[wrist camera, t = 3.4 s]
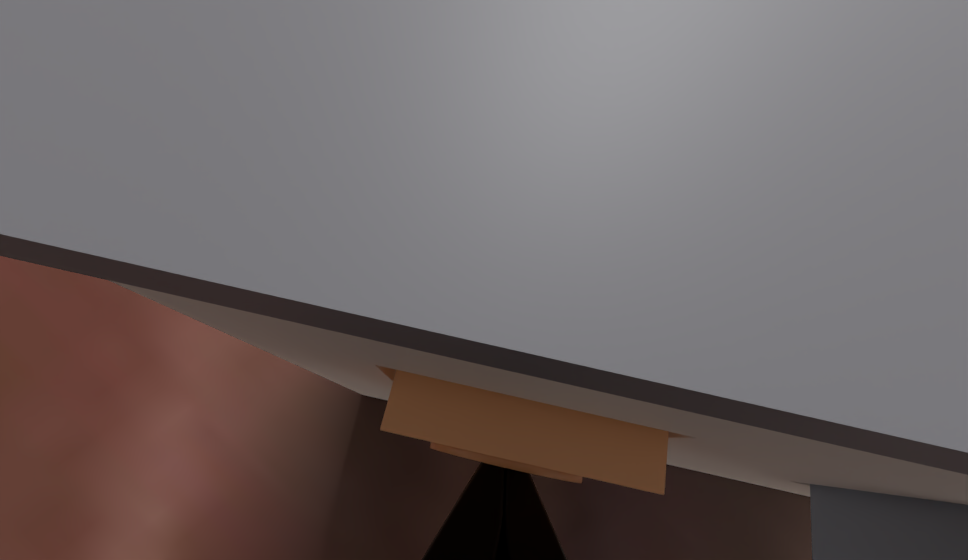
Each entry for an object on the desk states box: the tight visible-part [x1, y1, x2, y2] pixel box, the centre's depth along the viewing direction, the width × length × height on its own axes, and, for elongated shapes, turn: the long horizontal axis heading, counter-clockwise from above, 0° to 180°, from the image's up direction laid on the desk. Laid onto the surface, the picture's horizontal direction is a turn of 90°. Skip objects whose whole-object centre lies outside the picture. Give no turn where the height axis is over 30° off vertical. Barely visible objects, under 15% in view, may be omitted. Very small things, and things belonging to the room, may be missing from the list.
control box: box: [0, 0, 968, 505], centre depth 11 cm, size 8×20×16 cm, turn 78°
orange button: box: [380, 370, 669, 495], centre depth 9 cm, size 4×4×4 cm
